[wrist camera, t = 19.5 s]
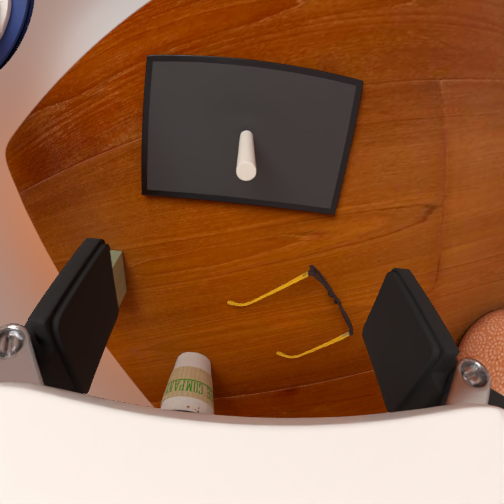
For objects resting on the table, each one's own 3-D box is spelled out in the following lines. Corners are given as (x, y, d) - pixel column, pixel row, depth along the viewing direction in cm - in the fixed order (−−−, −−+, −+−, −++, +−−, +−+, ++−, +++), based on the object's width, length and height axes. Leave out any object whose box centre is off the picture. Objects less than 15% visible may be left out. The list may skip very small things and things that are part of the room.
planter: (448, 375, 62) (475, 438, 45) (438, 329, 52) (478, 407, 36) (514, 332, 56) (549, 387, 40) (517, 277, 47) (568, 340, 30)
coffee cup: (230, 358, 54) (228, 433, 41) (206, 384, 58) (200, 451, 45) (179, 337, 51) (165, 413, 38) (159, 366, 55) (145, 435, 43)
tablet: (149, 55, 29) (146, 55, 28) (360, 80, 31) (363, 81, 30) (143, 192, 38) (141, 195, 37) (332, 212, 40) (334, 215, 39)
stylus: (240, 128, 33) (237, 161, 21) (253, 129, 33) (257, 163, 21) (239, 140, 34) (235, 180, 22) (252, 141, 34) (255, 182, 22)
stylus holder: (79, 246, 42) (66, 263, 38) (122, 250, 42) (111, 269, 38) (87, 284, 45) (76, 302, 41) (127, 290, 46) (118, 309, 42)
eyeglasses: (352, 315, 49) (359, 333, 46) (276, 352, 53) (278, 370, 50) (313, 253, 43) (318, 270, 40) (226, 300, 47) (225, 319, 44)
